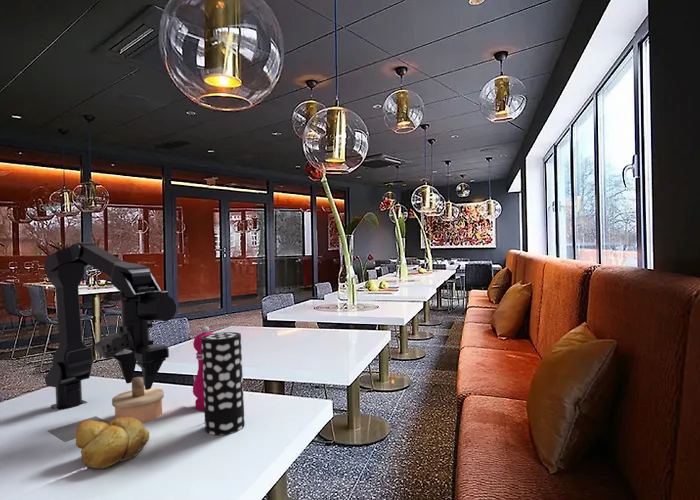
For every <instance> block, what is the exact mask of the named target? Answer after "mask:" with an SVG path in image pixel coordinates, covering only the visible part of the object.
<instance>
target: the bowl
mask: <svg viewBox="0 0 700 500" xmlns="http://www.w3.org/2000/svg"><path fill="white" fill-rule="evenodd" d="M162 415H163V398H162V399H161V400H159V401H157V402H155V403H152V404H149V405H145V406H140V407H134V408H117V407H114V419H116V418H121V417H132V418H136V419H137V420H139V421H140V422H141V423H142V424H143V423H146V422H150V421H153V420H156V419H158V418H159V417H160V416H162Z"/></svg>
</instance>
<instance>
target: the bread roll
mask: <svg viewBox="0 0 700 500" xmlns="http://www.w3.org/2000/svg"><path fill="white" fill-rule="evenodd" d="M84 420H85V419H84ZM108 422H109V423H105V422H99V421H93V420H85V421H83V422H81V423H80V424H79V425H78V427H77V431H76V439H75V445H76V447H78V449H81V450H80V454H81V458H82V463H83V464H85V465H86V466H88V467H89V468H91V469H105V468H106V469H107V468H108V467H110V466H112V465H114V464H116V463H117V462H119V461H120V462H123V461H126V460H128V459H131V458H133V457H134V456H137V455H138V453H139V452H140V450H142V449H143V448H144V447H145V446H146V445H147V443H148V441H149V440H150V431H149V430H148V429H147V428H146V427H145V426H144V425H143V423H141V422H140V421H139V420H137V419H136V418H132V417H121V418H116V419H115V418H114V419H113V420H111V421H108Z"/></svg>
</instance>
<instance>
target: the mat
mask: <svg viewBox="0 0 700 500" xmlns="http://www.w3.org/2000/svg"><path fill="white" fill-rule="evenodd" d="M85 420H93V421H99V422H105V423H109V422H110V421H107V420H105V419H102V418H100V417H98V416H97V415H95V416H92V417H89V418H86V419H82V420H77V421H75V422H72V423H68V424H66V425H63V426H59V427H55V428H52V429H49V430H48V429H47V432H49V433H50V434H51V435H53V436H55V437H56V438H58V439H60V440H61V441H62V442H65V443H66V442H69V441H72V440H74V439H75V440H76V431H77V427H78V425H79V424H80V423H81V422H83V421H85Z"/></svg>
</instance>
